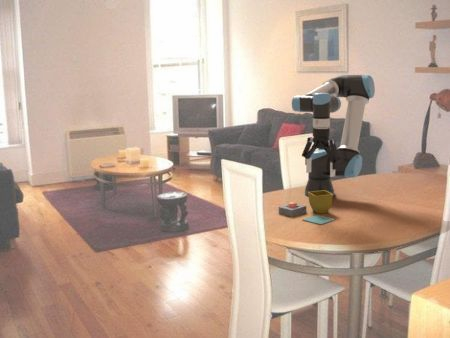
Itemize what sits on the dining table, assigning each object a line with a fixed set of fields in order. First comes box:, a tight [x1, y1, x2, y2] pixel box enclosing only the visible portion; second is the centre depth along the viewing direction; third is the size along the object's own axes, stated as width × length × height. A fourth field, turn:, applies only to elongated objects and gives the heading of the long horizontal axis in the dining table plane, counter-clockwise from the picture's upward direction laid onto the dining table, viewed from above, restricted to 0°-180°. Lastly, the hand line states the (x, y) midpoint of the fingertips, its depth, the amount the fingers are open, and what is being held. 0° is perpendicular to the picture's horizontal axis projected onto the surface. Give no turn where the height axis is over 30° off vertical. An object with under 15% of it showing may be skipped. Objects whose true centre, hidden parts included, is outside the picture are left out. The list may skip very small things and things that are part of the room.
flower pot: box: [307, 190, 334, 214], centre depth 244 cm, size 9×9×9 cm
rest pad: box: [302, 214, 336, 226], centre depth 232 cm, size 10×10×1 cm
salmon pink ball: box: [287, 202, 298, 208], centre depth 244 cm, size 4×4×4 cm
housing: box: [278, 203, 307, 217], centre depth 244 cm, size 10×8×3 cm
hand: (320, 174), depth 241 cm, fingers open, 13 cm apart
